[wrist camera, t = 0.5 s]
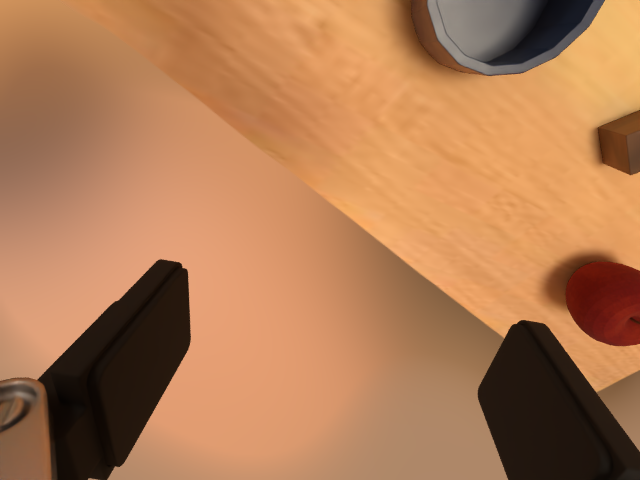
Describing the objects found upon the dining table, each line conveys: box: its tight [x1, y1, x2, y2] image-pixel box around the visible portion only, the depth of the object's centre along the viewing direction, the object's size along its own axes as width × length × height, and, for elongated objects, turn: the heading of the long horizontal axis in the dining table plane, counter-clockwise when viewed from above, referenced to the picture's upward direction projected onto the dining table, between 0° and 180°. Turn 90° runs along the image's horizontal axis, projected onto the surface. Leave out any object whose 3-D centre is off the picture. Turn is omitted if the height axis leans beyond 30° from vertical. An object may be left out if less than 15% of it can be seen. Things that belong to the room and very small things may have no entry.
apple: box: [566, 262, 640, 346], centre depth 43 cm, size 10×10×10 cm
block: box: [598, 111, 640, 175], centre depth 36 cm, size 4×4×4 cm
